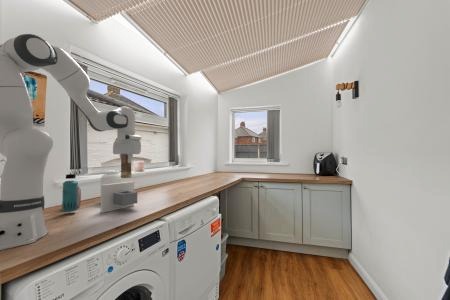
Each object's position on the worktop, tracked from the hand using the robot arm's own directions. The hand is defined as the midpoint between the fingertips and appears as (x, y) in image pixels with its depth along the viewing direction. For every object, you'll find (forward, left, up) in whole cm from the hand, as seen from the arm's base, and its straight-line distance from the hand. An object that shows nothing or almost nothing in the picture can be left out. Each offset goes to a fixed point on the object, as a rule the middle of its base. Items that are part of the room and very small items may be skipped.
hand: (126, 162), depth 115 cm
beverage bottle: (-19, +18, -26) cm, 37 cm away
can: (+8, +27, -26) cm, 38 cm away
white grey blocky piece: (0, +2, -25) cm, 26 cm away
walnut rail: (0, 0, -8) cm, 8 cm away
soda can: (-13, +29, -26) cm, 41 cm away
